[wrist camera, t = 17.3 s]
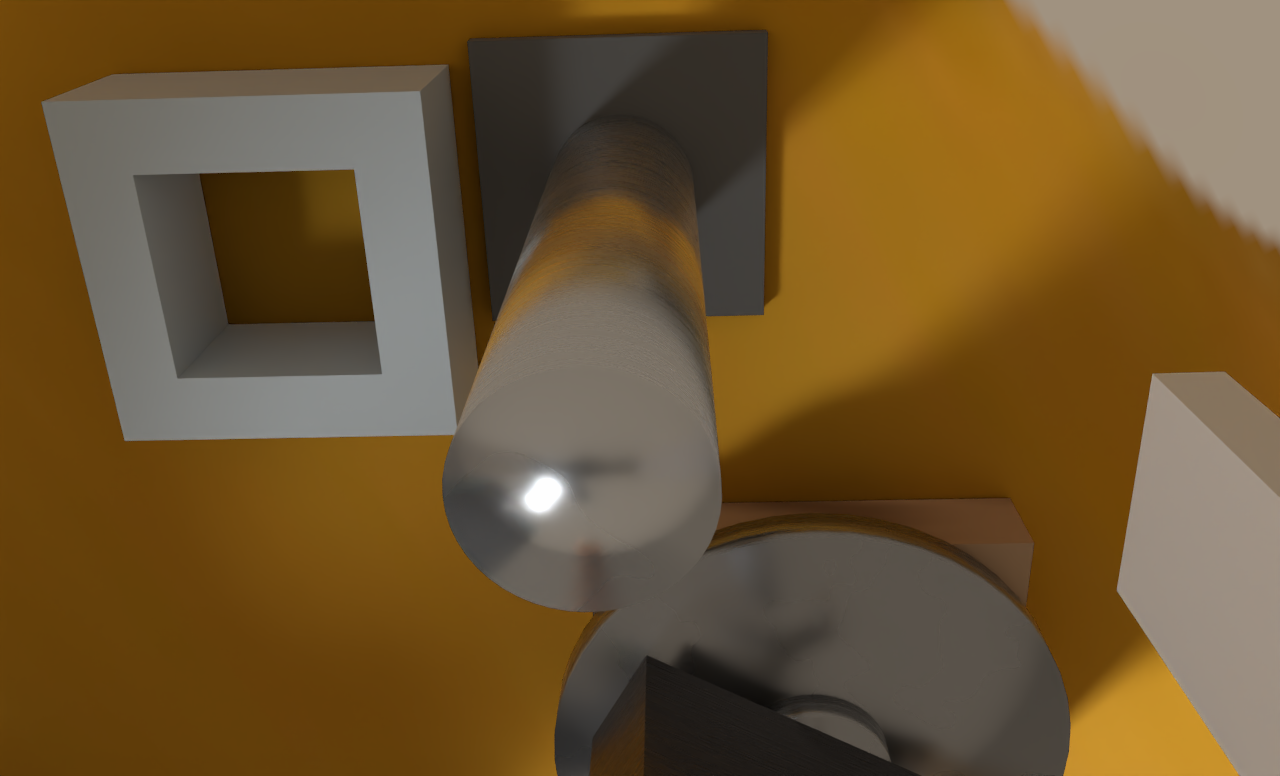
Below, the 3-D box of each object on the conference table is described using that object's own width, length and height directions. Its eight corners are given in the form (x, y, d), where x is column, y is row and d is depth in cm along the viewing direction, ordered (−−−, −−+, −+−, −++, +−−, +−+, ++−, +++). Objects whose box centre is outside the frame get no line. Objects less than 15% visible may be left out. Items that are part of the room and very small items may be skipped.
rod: (548, 113, 24) (432, 367, 12) (695, 114, 23) (725, 369, 12) (553, 254, 25) (452, 610, 13) (692, 254, 25) (718, 613, 13)
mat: (495, 314, 26) (492, 320, 25) (470, 38, 23) (467, 41, 23) (762, 308, 26) (763, 314, 25) (766, 29, 23) (767, 32, 23)
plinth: (611, 814, 32) (607, 877, 30) (594, 504, 28) (589, 553, 26) (972, 811, 32) (992, 874, 30) (1009, 498, 28) (1036, 546, 26)
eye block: (180, 381, 27) (124, 440, 24) (112, 73, 24) (41, 101, 21) (478, 375, 26) (457, 434, 24) (448, 64, 24) (419, 91, 21)
